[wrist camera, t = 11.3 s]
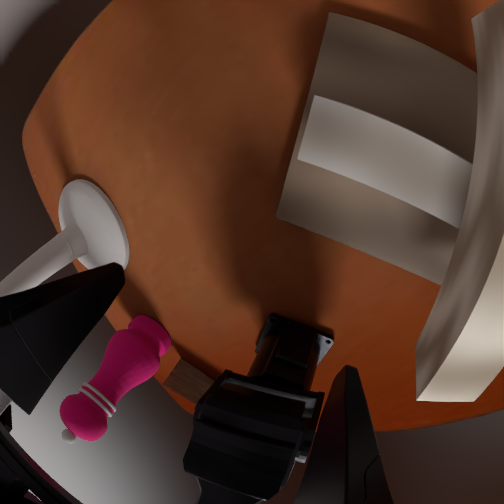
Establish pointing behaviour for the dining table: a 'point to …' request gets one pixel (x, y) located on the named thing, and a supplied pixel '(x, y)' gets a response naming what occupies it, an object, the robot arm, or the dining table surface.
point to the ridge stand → (384, 147)
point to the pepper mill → (114, 378)
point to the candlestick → (75, 238)
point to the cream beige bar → (473, 250)
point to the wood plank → (188, 381)
